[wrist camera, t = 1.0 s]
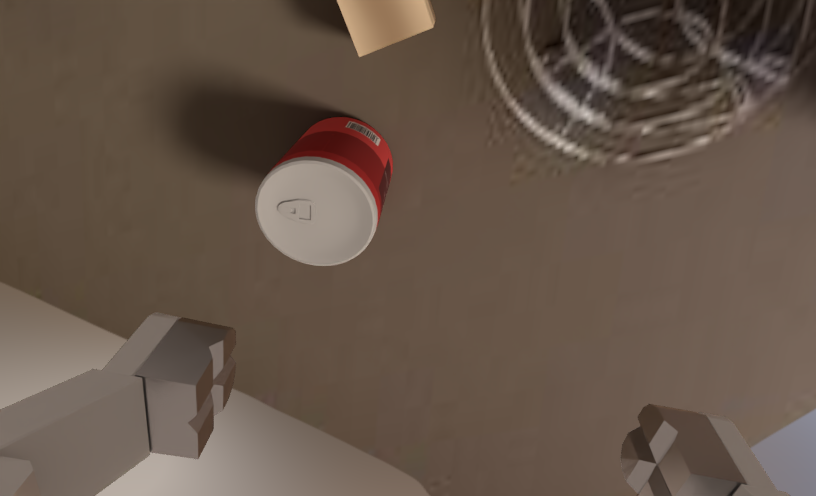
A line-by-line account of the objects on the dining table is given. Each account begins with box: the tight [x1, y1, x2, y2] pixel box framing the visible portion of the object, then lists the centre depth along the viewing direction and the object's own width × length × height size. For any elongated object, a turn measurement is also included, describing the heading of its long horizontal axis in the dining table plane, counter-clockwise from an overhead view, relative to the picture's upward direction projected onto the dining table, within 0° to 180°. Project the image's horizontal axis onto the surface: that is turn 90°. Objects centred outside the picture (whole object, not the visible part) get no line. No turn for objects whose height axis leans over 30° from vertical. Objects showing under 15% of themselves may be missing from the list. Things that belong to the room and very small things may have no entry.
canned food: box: [255, 117, 393, 266], centre depth 37 cm, size 8×8×11 cm
